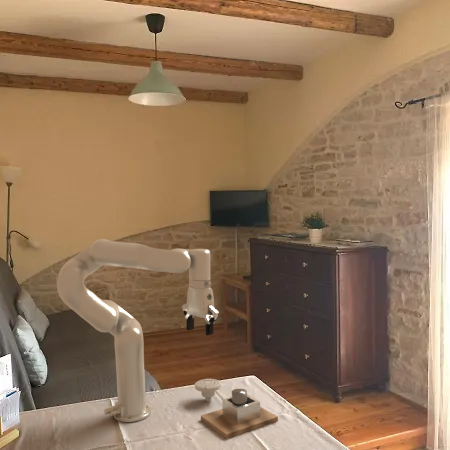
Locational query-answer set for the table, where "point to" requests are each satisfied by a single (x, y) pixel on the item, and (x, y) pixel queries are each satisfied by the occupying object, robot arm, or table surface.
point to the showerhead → (208, 387)
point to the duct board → (238, 417)
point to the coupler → (239, 397)
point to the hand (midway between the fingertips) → (199, 332)
